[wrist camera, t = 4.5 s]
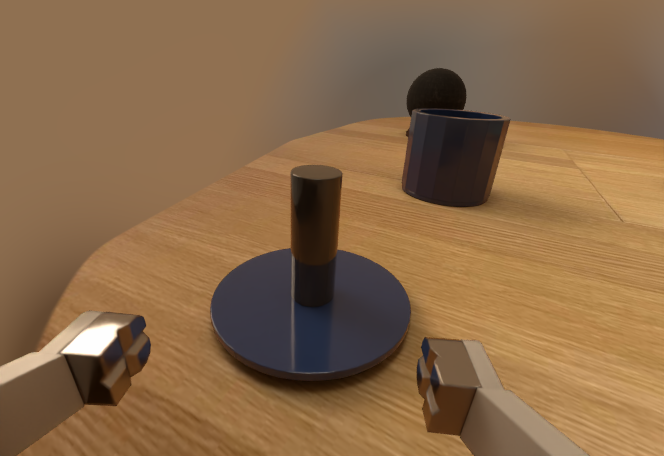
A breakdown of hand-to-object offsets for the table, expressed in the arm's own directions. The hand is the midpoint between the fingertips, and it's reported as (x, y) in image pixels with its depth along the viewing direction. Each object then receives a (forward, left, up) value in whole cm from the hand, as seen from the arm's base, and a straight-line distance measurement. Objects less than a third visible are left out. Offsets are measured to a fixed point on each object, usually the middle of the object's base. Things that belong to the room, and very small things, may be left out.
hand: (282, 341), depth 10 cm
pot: (+3, +36, -6) cm, 37 cm away
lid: (-3, +8, -5) cm, 10 cm away
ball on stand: (-3, +78, -6) cm, 79 cm away
